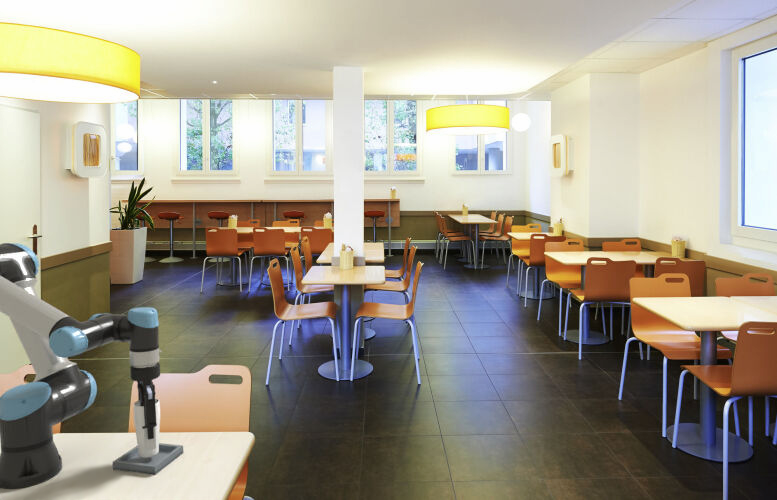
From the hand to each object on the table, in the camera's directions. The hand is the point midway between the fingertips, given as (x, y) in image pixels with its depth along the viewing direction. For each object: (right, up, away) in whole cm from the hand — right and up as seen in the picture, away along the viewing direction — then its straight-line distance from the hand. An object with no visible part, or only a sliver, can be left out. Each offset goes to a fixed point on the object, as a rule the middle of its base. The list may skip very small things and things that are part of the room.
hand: (148, 444), depth 154 cm
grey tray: (0, -5, 0) cm, 5 cm away
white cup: (0, -3, 0) cm, 3 cm away
